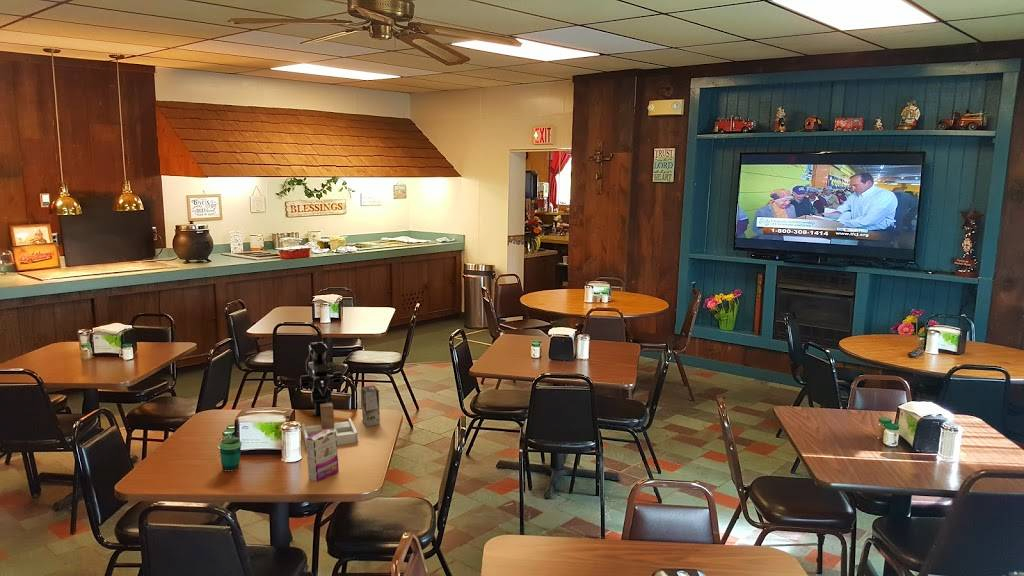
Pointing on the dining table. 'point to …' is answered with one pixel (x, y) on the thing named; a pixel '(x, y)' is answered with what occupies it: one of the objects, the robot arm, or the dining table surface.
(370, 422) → the coffee box
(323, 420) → the block
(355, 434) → the trap box
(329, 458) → the candy bar box
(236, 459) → the cup
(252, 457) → the dining table surface
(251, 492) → the dining table surface
